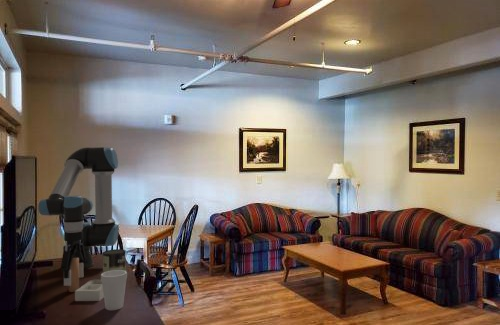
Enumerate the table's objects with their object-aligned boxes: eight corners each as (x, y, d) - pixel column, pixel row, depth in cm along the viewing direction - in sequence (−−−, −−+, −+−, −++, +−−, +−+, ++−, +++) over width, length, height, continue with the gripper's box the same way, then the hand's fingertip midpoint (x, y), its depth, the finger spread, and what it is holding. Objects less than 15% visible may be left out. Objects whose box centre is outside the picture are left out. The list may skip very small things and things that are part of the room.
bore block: (91, 288, 170) (91, 279, 170) (114, 288, 170) (114, 279, 170) (75, 301, 154) (74, 291, 154) (99, 300, 154) (99, 290, 154)
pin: (71, 289, 169) (71, 257, 169) (80, 289, 169) (80, 257, 169) (67, 292, 165) (67, 259, 165) (76, 292, 165) (76, 259, 165)
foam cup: (101, 313, 140) (101, 278, 140) (100, 305, 149) (100, 271, 149) (128, 309, 144) (128, 274, 144) (126, 301, 153) (125, 268, 153)
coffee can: (130, 278, 184) (129, 249, 184) (118, 285, 173) (118, 254, 174) (110, 277, 186) (110, 248, 186) (98, 284, 176) (98, 253, 176)
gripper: (77, 226, 179) (77, 273, 178) (50, 236, 155) (51, 290, 155) (93, 226, 179) (93, 273, 178) (69, 235, 155) (69, 289, 155)
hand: (74, 281), depth 167 cm, fingers open, 11 cm apart
